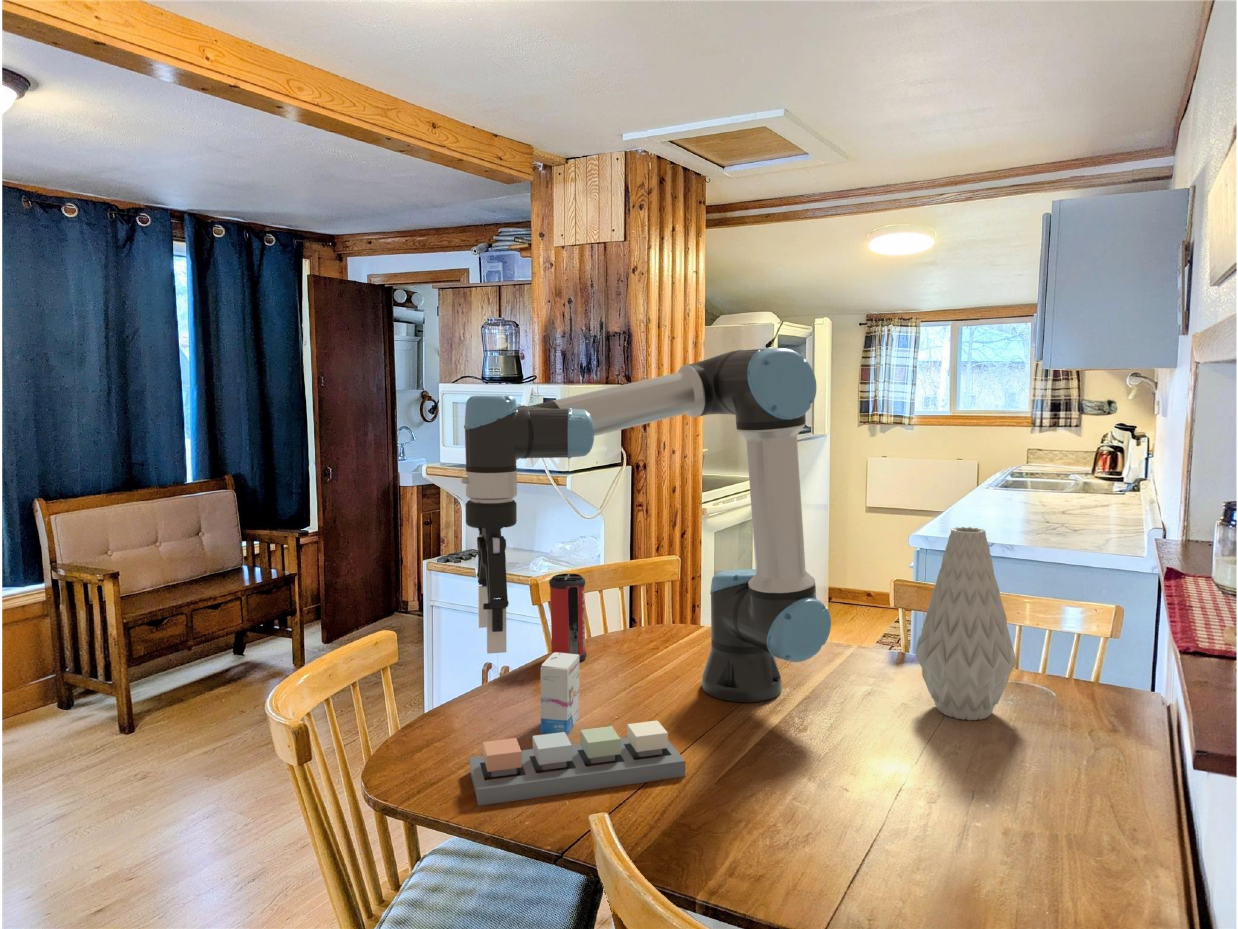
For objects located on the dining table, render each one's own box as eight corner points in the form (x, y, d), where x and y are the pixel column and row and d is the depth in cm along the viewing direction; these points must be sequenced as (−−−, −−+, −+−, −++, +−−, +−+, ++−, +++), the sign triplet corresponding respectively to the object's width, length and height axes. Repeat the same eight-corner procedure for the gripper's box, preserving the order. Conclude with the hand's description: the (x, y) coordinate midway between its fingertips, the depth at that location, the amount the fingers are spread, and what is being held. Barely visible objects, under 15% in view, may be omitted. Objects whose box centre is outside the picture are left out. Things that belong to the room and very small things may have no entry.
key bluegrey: (565, 754, 133) (564, 731, 132) (572, 768, 128) (571, 745, 127) (533, 758, 131) (532, 735, 131) (538, 772, 126) (538, 749, 126)
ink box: (568, 736, 145) (567, 668, 144) (539, 734, 146) (538, 666, 145) (580, 717, 153) (579, 652, 152) (553, 715, 154) (552, 650, 153)
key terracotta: (516, 760, 131) (516, 737, 130) (522, 775, 126) (521, 751, 125) (483, 765, 129) (483, 742, 129) (487, 779, 124) (487, 755, 124)
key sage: (612, 748, 135) (611, 726, 134) (620, 761, 130) (620, 738, 130) (580, 752, 133) (580, 729, 133) (588, 766, 129) (588, 742, 128)
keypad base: (662, 746, 140) (662, 732, 140) (685, 776, 130) (685, 760, 129) (470, 772, 132) (469, 757, 132) (478, 805, 121) (477, 789, 121)
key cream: (657, 742, 137) (657, 720, 136) (667, 755, 132) (667, 732, 132) (627, 746, 135) (627, 724, 135) (636, 759, 131) (636, 736, 130)
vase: (960, 688, 165) (964, 518, 162) (1035, 718, 150) (1042, 532, 147) (893, 703, 158) (896, 526, 154) (964, 736, 143) (970, 541, 140)
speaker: (554, 652, 190) (552, 572, 188) (588, 653, 189) (587, 572, 187) (547, 663, 182) (545, 580, 180) (583, 664, 181) (582, 580, 179)
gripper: (460, 490, 139) (461, 618, 141) (472, 511, 115) (473, 666, 117) (506, 489, 141) (507, 616, 143) (528, 510, 117) (528, 662, 119)
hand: (491, 639), depth 130 cm, fingers open, 13 cm apart
